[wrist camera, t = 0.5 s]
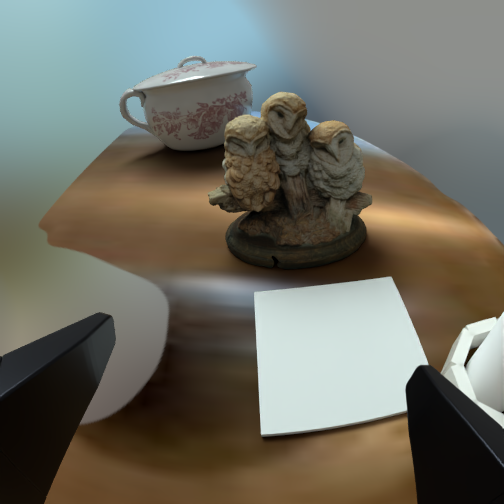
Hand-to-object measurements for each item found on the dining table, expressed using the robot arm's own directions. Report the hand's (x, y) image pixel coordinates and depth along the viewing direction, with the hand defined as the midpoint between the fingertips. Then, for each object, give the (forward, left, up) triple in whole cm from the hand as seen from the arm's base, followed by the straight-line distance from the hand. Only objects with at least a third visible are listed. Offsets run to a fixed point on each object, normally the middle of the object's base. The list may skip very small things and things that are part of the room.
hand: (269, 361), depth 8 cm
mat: (+9, -6, -15) cm, 18 cm away
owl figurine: (+25, -4, -15) cm, 30 cm away
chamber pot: (+65, +11, -15) cm, 68 cm away
